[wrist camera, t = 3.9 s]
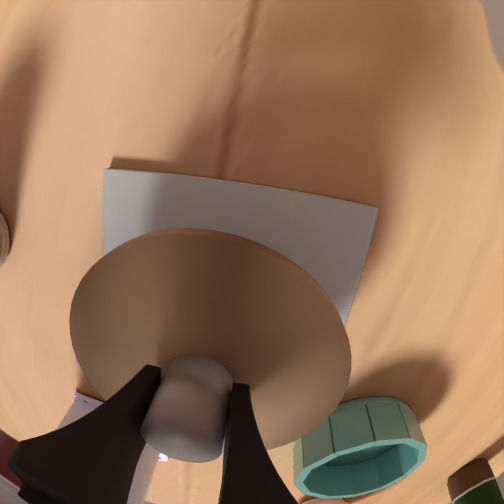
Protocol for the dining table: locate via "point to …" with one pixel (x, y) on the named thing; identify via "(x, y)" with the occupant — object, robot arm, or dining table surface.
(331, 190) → the dining table surface
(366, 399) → the bowl
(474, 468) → the beer bottle
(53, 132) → the dining table surface
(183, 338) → the lid
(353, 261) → the mat
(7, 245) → the carving
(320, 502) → the lidded jar
